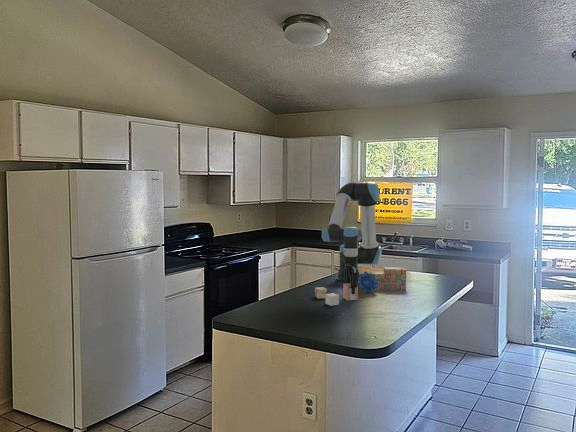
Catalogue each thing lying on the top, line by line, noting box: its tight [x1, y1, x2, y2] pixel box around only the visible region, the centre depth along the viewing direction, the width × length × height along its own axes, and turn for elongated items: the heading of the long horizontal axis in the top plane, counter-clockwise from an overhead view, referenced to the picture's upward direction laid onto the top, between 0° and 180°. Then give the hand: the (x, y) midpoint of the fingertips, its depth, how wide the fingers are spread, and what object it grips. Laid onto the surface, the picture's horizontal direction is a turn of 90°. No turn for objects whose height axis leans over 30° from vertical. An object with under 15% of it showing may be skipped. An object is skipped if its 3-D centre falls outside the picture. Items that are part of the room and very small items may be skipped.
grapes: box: [357, 271, 378, 293], centre depth 285 cm, size 12×7×12 cm, turn 62°
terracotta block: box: [342, 282, 359, 301], centre depth 270 cm, size 6×6×8 cm
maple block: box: [314, 286, 328, 300], centre depth 275 cm, size 5×5×5 cm
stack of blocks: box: [368, 266, 407, 291], centre depth 297 cm, size 21×6×12 cm, turn 85°
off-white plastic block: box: [325, 292, 340, 306], centre depth 259 cm, size 5×5×5 cm
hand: (350, 298), depth 270 cm, fingers closed on terracotta block, 6 cm apart
